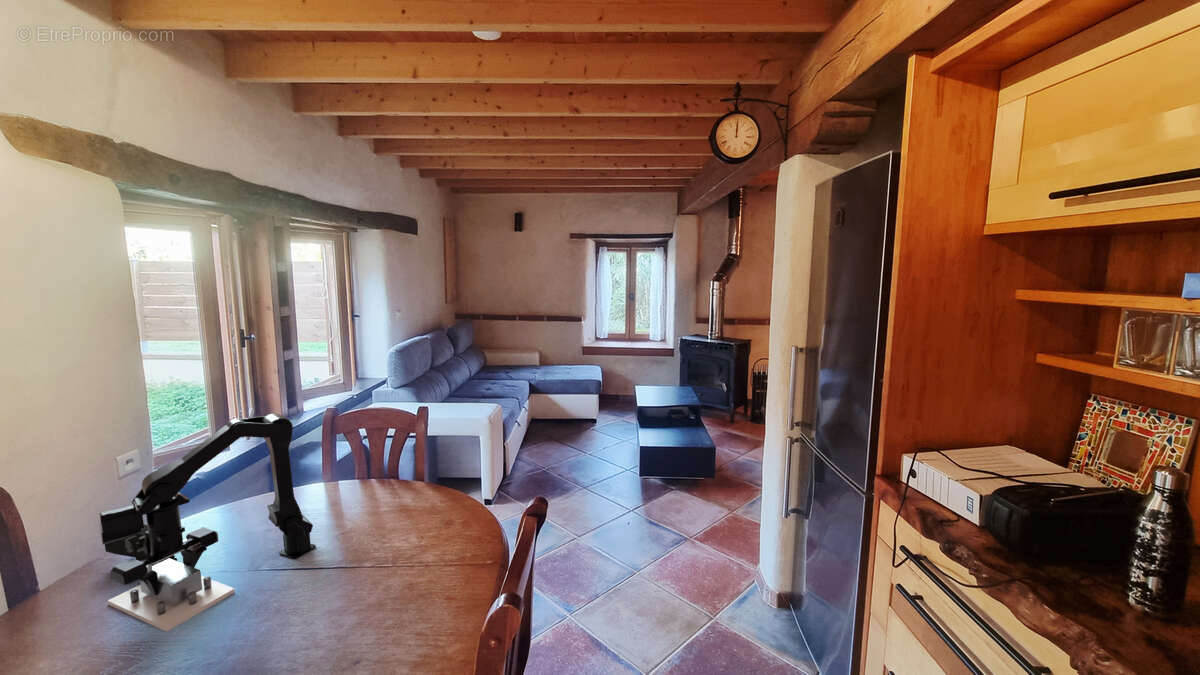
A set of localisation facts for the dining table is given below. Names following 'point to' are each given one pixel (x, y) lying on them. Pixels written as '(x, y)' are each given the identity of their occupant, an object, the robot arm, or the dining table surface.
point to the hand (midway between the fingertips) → (171, 586)
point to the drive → (174, 581)
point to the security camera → (120, 549)
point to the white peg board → (166, 613)
